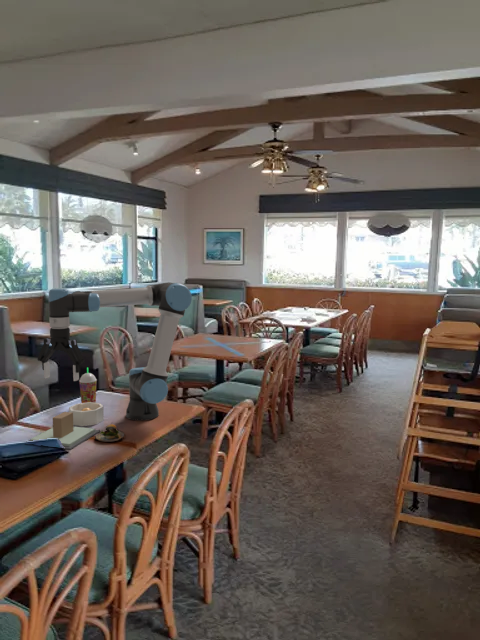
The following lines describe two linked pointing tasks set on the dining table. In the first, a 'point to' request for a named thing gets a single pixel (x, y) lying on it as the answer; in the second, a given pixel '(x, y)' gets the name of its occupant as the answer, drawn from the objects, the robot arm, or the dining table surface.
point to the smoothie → (88, 388)
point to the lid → (65, 430)
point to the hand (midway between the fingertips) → (61, 379)
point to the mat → (81, 440)
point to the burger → (110, 434)
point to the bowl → (87, 413)
